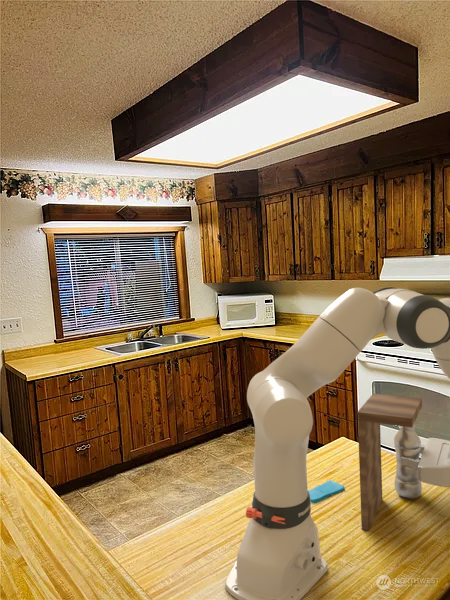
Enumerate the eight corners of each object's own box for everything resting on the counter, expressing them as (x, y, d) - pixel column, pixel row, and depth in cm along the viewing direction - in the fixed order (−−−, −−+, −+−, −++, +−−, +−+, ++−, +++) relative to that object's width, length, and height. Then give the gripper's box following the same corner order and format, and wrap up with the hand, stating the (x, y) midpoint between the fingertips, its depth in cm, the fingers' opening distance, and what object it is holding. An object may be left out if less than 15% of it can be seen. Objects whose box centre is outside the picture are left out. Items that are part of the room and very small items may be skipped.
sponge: (297, 492, 121) (312, 499, 116) (330, 479, 128) (345, 485, 123) (298, 498, 121) (313, 505, 116) (330, 484, 128) (346, 490, 123)
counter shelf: (414, 542, 98) (411, 418, 96) (361, 529, 104) (357, 411, 102) (424, 508, 111) (421, 398, 109) (376, 498, 117) (373, 393, 115)
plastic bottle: (402, 486, 122) (400, 414, 121) (427, 495, 117) (425, 420, 116) (389, 495, 118) (387, 421, 117) (414, 504, 113) (412, 427, 112)
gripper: (465, 436, 119) (410, 428, 126) (460, 468, 101) (396, 457, 109) (466, 459, 119) (410, 450, 126) (461, 495, 102) (396, 483, 109)
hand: (403, 454), depth 117 cm, fingers closed on plastic bottle, 6 cm apart
